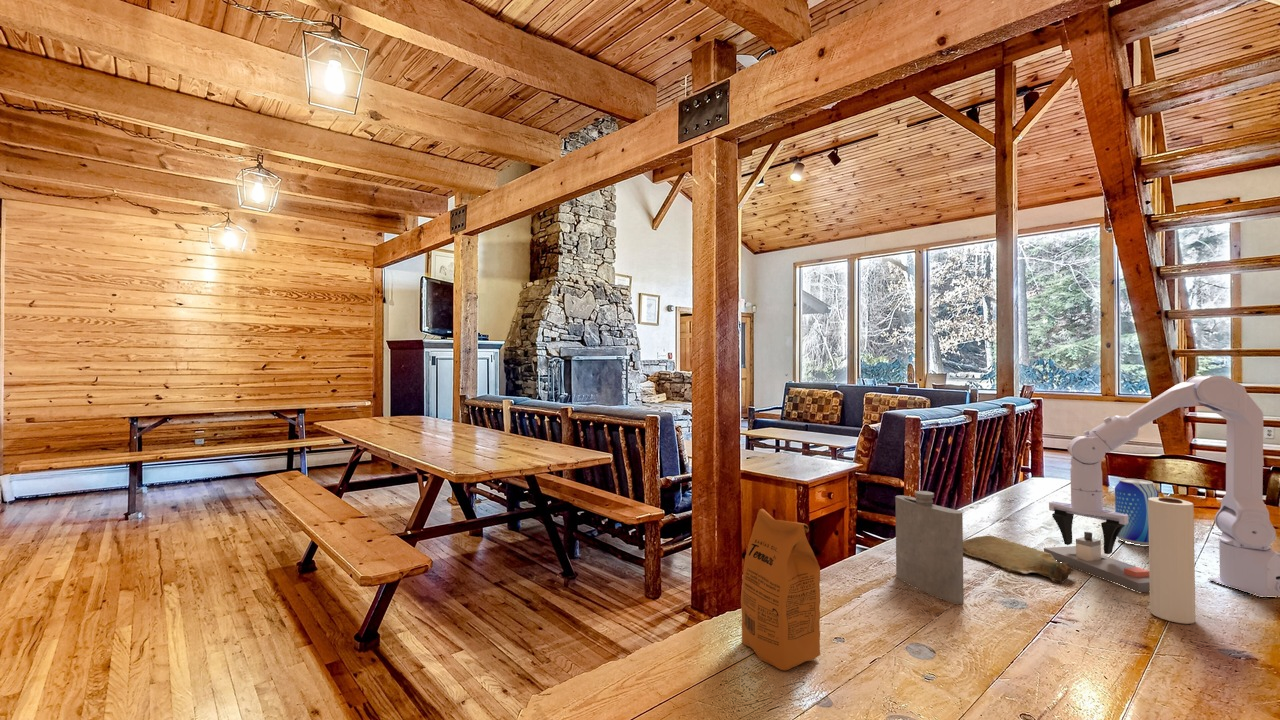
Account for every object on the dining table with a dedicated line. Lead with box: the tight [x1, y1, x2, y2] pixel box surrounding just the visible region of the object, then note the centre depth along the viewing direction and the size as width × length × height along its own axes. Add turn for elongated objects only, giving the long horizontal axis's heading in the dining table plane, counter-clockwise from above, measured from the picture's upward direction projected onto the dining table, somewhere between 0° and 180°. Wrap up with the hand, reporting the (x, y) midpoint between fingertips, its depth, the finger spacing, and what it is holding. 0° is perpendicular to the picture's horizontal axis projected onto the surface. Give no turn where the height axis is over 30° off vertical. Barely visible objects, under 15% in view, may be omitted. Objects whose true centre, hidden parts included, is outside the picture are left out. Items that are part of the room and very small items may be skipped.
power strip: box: [1043, 545, 1150, 593], centre depth 123 cm, size 22×9×3 cm, turn 8°
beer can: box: [1114, 477, 1159, 545], centre depth 143 cm, size 8×8×16 cm
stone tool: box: [963, 535, 1074, 584], centre depth 129 cm, size 12×4×25 cm
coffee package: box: [740, 508, 821, 671], centre depth 90 cm, size 10×12×22 cm
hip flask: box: [895, 490, 965, 605], centre depth 115 cm, size 16×4×20 cm, turn 18°
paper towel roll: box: [1148, 495, 1197, 625], centre depth 101 cm, size 7×6×21 cm
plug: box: [1075, 531, 1102, 561], centre depth 127 cm, size 3×4×8 cm
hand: (1087, 548), depth 127 cm, fingers open, 7 cm apart
